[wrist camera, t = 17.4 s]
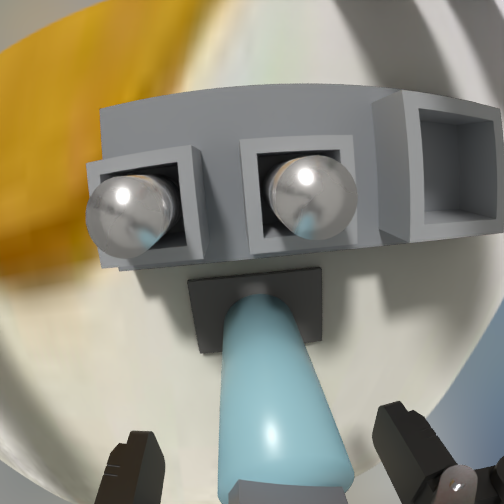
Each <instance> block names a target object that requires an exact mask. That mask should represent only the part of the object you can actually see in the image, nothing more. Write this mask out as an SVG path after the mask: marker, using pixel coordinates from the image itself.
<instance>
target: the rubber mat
mask: <svg viewBox="0 0 504 504" xmlns="http://www.w3.org/2000/svg"><path fill="white" fill-rule="evenodd" d="M187 283H188V289H189V295H190V301H191V307H192V313H193V318H194V324H195V329H196V335H197V340H198V345H199V351H200V353H214V352H222V350H223V330H224V320H225V316H226V314H227V312H228V311H229V309H230V308H231V307H232V305H233V304H235V303H236V302H237V301H238V300H240V299H242V298H244V297H246V296H249V295H254V294H267V295H272V296H274V297H277V298H279V299H280V300H282V301H283V302H284V303H285V304H286V305H287V306H288V307H289V308H290V310H291V312H292V314H293V317H294V319H295V322H296V324H297V327H298V329H299V332H300V334H301V337H302V339H303V342H304V343H309V342H316V341H322V269H321V268H320V267H315V268H305V269H296V270H286V271H277V272H267V273H257V274H247V275H236V276H226V277H215V278H204V279H193V280H188V282H187Z"/></svg>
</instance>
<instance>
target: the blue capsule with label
mask: <svg viewBox="0 0 504 504" xmlns="http://www.w3.org/2000/svg"><path fill="white" fill-rule="evenodd" d="M353 480H354V471H353V468H352V465H351V462H350V460H349V457H348V455H347V452H346V449H345V447H344V444H343V441H342V439H341V436H340V434H339V431H338V428H337V426H336V423H335V421H334V418H333V416H332V413H331V410H330V408H329V405H328V403H327V400H326V398H325V395H324V392H323V390H322V387H321V385H320V382H319V380H318V377H317V375H316V372H315V369H314V367H313V364H312V362H311V359H310V357H309V354H308V352H307V349H306V347H305V344H304V342H303V339H302V337H301V334H300V332H299V329H298V327H297V324H296V322H295V319H294V317H293V314H292V312H291V310H290V308H289V307H288V306H287V305H286V304H285V303H284V302H283V301H282V300H280V299H279V298H277V297H274V296H272V295H267V294H254V295H249V296H246V297H244V298H242V299H240V300H238V301H237V302H236V303H235V304H233V305H232V307H231V308H230V309H229V311H228V312H227V314H226V316H225V320H224V330H223V350H222V371H221V395H220V423H219V456H218V498H219V500H220V502H221V503H222V504H348V502H347V499H346V496H345V493H346V491H347V490H348V489H349V488H350V486H351V485H352V483H353Z"/></svg>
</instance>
